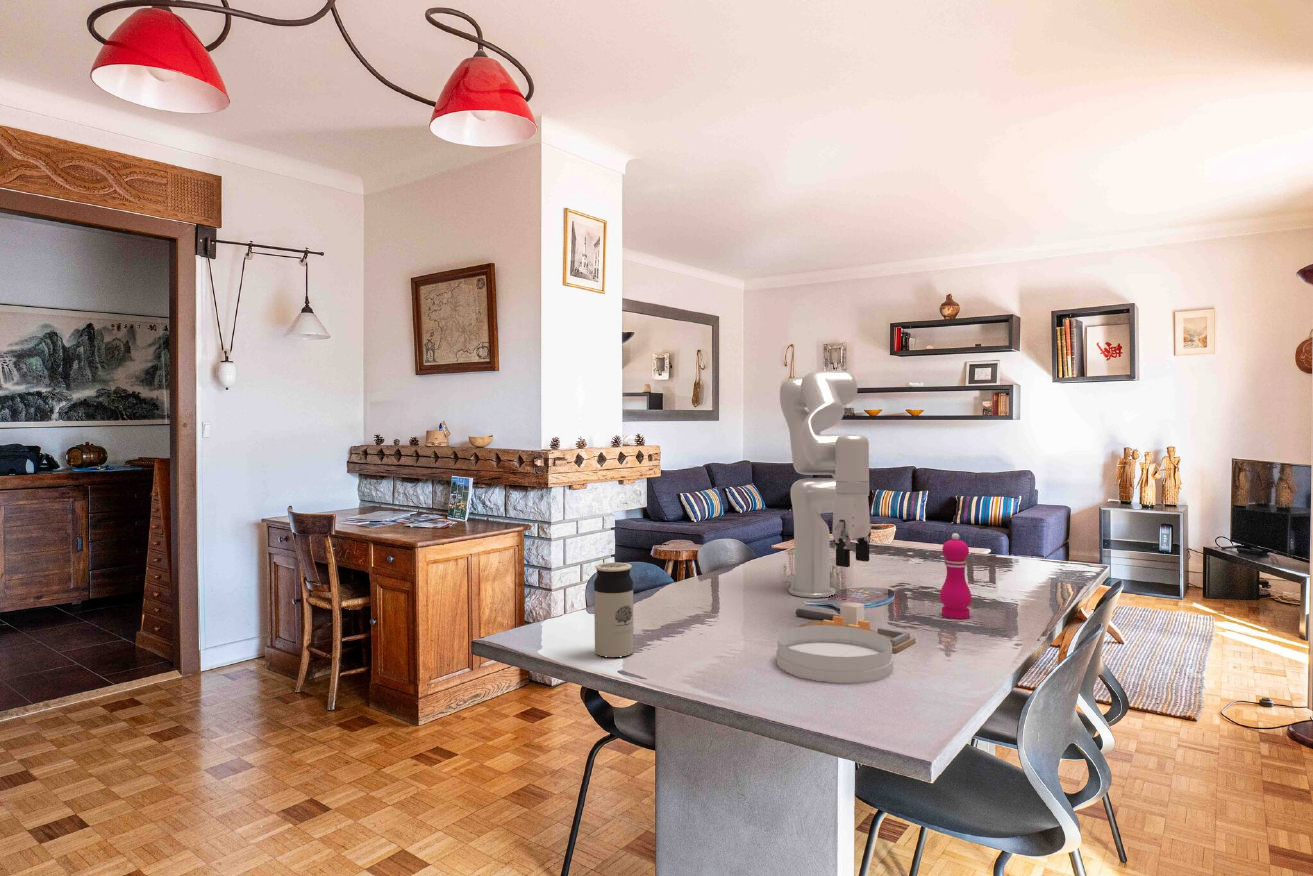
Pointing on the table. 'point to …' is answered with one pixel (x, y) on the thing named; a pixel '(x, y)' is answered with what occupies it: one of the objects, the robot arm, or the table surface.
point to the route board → (894, 648)
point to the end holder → (894, 635)
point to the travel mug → (613, 610)
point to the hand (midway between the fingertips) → (852, 563)
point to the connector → (847, 610)
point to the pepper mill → (955, 580)
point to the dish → (835, 654)
